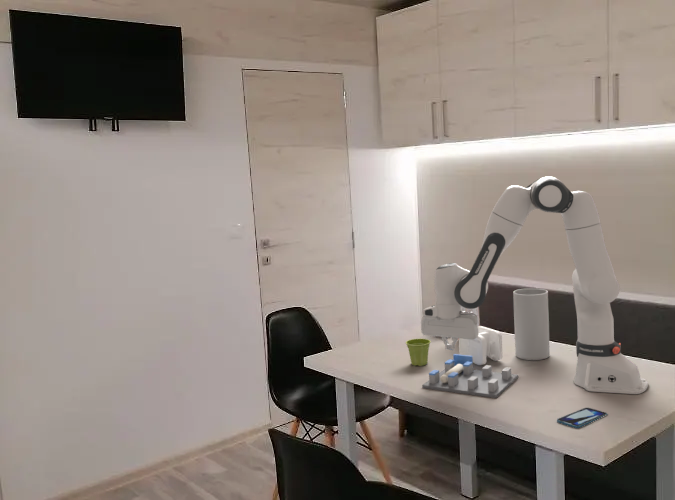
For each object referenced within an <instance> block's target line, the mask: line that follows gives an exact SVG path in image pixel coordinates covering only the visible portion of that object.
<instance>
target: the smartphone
mask: <svg viewBox="0 0 675 500" xmlns="http://www.w3.org/2000/svg"><path fill="white" fill-rule="evenodd" d="M605 415H607V416H608V413H607V411H606V412H605V411H602V410H598V409H595V408H593V407H592V408H591V407H584V408H581V409H578V410H576V411H574V412H572V413H569V414H567V415H564V416H561V417H559V418H557V419H556V422H557V423H558V424H561V423H562V424H561V425H565V426H567V425H568V426H567V427H570V428H573V427H574V428H573V429H581V428H583V427H585V426H587V425H589V423H590V424H591V422H592V423H593V421H594V422H596V421H598V420H600V419H602V418H601V417H603V416H605ZM605 417H606V416H605ZM599 418H600V419H599ZM603 418H604V417H603ZM597 419H598V420H597ZM595 420H596V421H595ZM584 425H585V426H584ZM582 426H583V427H582ZM580 427H581V428H580Z"/></svg>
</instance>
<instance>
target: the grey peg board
mask: <svg viewBox="0 0 675 500" xmlns="http://www.w3.org/2000/svg"><path fill="white" fill-rule="evenodd" d="M452 356H453V357H452V358H453V359H450V358H449V359H447V360H446V361H444V369H443V370H441V371H440V369H433V370H431V371H430V372H429V373H428V380H426V382H424V383H423V384H422V385H421V387H422V389H427V390H435V391H441V392H451V393H458V394H463V395H472V396H479V397H484V398H485V397H486V398H492V399H497V398H498V397H499V396H500V395H501V394H502V393H503V392H504V391H505V390H506V389H508V388H509V387H510V386H511V385H512V384H513V383H514V382H515V381H517V379H518V378H519V374H514V373H512V367H508V366H507V367H504V368H503V369H502V370H501V372H500V371H499V372H497V371H493V367H492V365H488V364H486V365H484V366H483V367H482V368H481V370H480V369H474V363H473V356H469V355H460V354H459V353H453V355H452ZM457 364H462V365H463V371H462V372H461V373H460V374H458V373H456V372H452V373H451V374H449V375H448V383H442V382H441V380H440V377H441V376H442V375H443V374H445V373H446V372H447V371H449V370H450V369H452V368H453V367H454V366H456V365H457Z"/></svg>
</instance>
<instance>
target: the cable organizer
mask: <svg viewBox="0 0 675 500" xmlns="http://www.w3.org/2000/svg"><path fill="white" fill-rule="evenodd" d="M478 333H479V335H478V337H477V338H475V339H474V340H472V339H461V338H459V340H458V351H459V353H458V354H459V355H469V356H473V364H475V365H477V366H482V365H485V364H486V363H487V358H489V359H491V360H493V361H494V362H498V361H501V360H502V359H503V335H502V333H501V331H499V330H495V329H492V328H490V327H486V326H482V325H480V326H478ZM486 365H487V364H486Z"/></svg>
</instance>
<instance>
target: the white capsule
mask: <svg viewBox="0 0 675 500" xmlns="http://www.w3.org/2000/svg"><path fill="white" fill-rule="evenodd" d="M462 371H463V365H462V364H457V365H456V366H454V367H453V368H452V369H450V370H449V371H447V372H446V373H445V374H443V375H442V376H441V377H440V380H441V382H442V383H448V375H449V374H451V373H452V372H456V373H458V374H460V373H461V372H462Z"/></svg>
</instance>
